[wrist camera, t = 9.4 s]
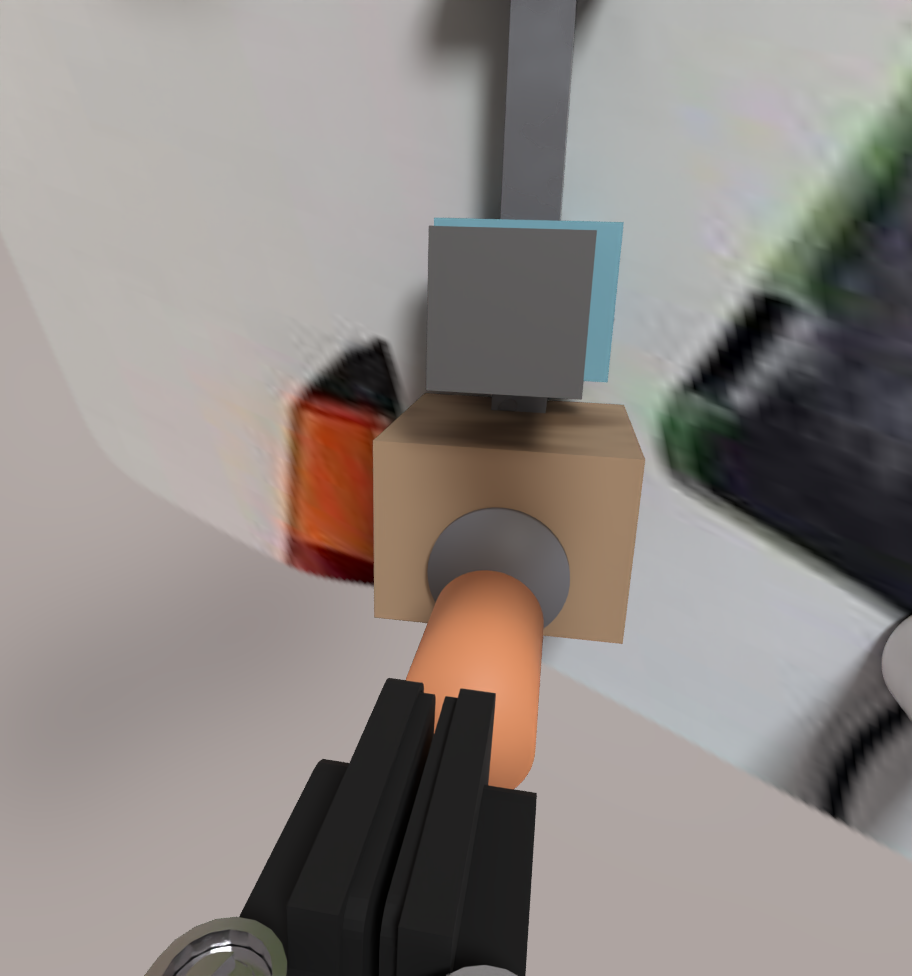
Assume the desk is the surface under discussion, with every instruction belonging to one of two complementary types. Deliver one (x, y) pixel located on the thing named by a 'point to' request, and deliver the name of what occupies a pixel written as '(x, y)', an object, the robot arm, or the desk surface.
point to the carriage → (520, 305)
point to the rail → (536, 125)
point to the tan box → (509, 508)
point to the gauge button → (488, 661)
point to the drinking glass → (899, 665)
